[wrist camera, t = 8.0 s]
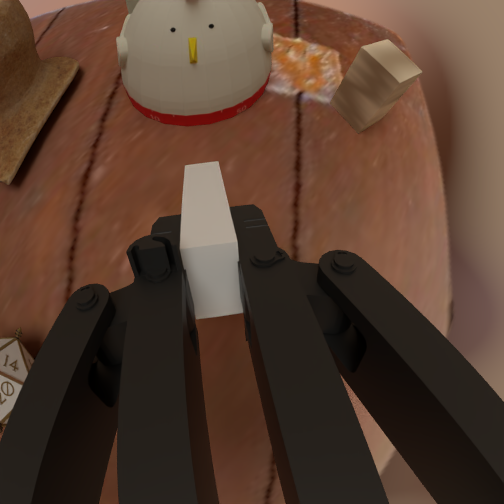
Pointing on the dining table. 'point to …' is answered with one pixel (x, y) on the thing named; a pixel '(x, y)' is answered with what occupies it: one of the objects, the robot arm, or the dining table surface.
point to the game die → (12, 373)
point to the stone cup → (25, 87)
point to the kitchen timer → (195, 58)
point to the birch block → (374, 84)
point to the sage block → (131, 5)
